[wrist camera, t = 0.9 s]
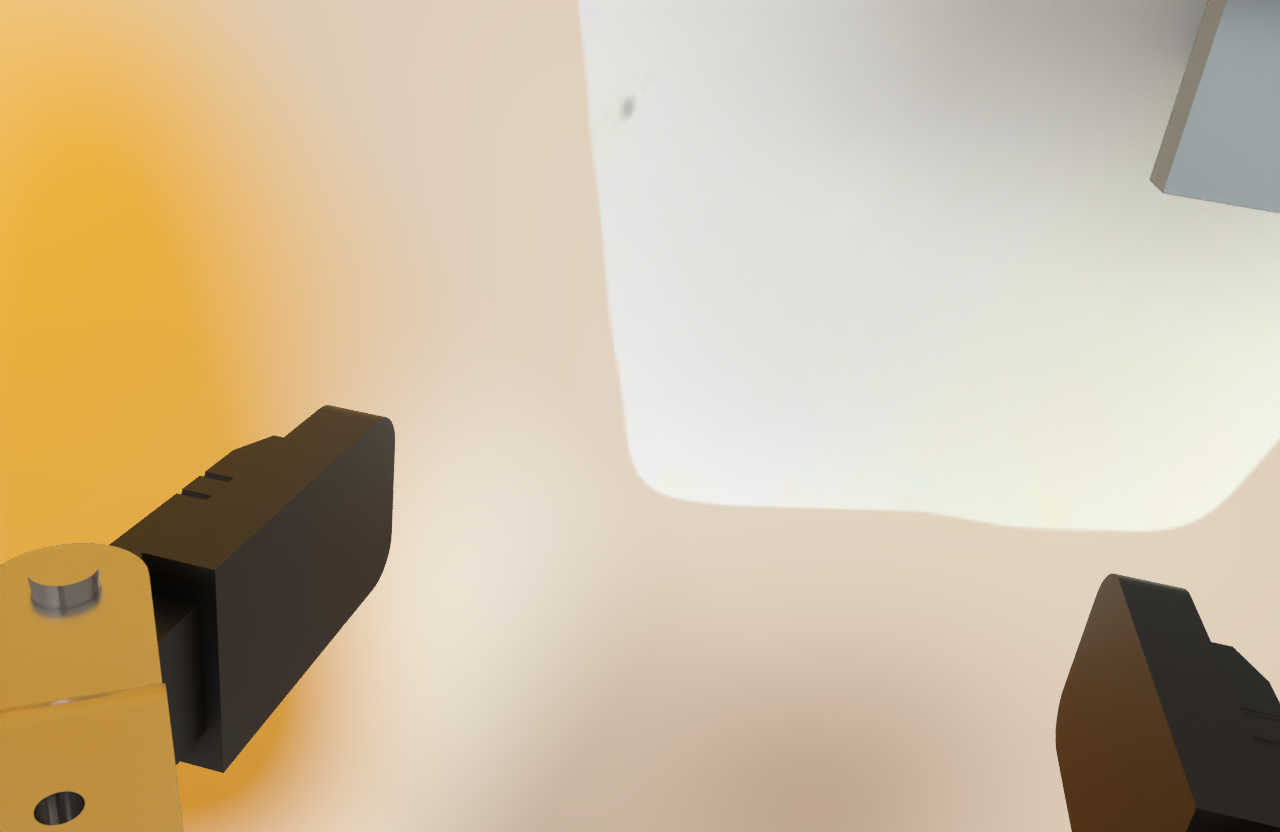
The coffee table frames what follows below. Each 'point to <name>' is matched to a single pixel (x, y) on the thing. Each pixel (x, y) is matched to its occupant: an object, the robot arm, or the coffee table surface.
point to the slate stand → (1228, 111)
